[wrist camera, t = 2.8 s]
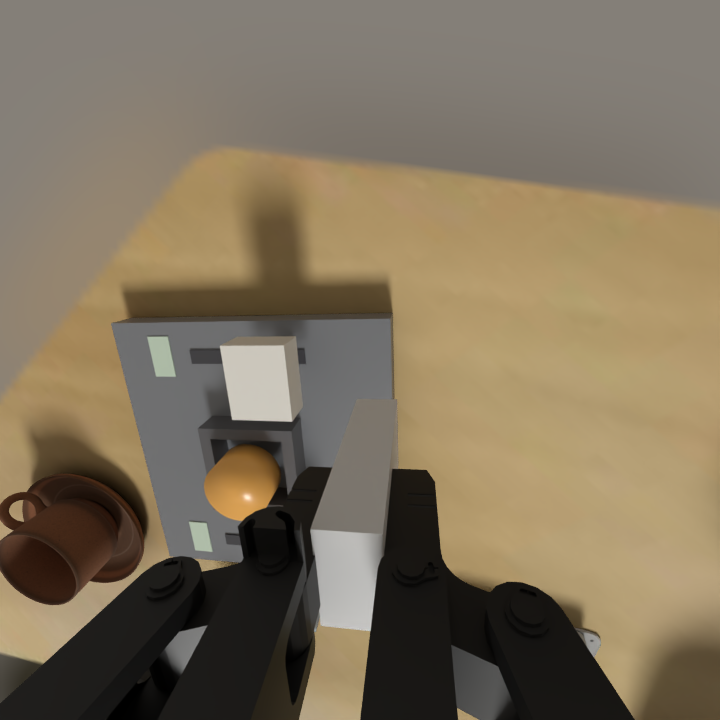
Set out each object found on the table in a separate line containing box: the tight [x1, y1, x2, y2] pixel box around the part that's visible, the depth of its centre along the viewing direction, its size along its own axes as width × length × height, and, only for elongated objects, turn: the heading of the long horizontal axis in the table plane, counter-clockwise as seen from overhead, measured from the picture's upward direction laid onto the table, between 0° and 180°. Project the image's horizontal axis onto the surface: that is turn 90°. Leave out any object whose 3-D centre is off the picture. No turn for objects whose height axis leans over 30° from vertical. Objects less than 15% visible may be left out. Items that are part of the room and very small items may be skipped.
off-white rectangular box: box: [220, 336, 303, 422], centre depth 22 cm, size 4×4×5 cm
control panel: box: [111, 313, 394, 563], centre depth 28 cm, size 20×21×4 cm
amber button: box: [204, 444, 281, 521], centre depth 25 cm, size 4×4×2 cm
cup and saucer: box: [0, 474, 144, 605], centre depth 33 cm, size 12×12×6 cm
